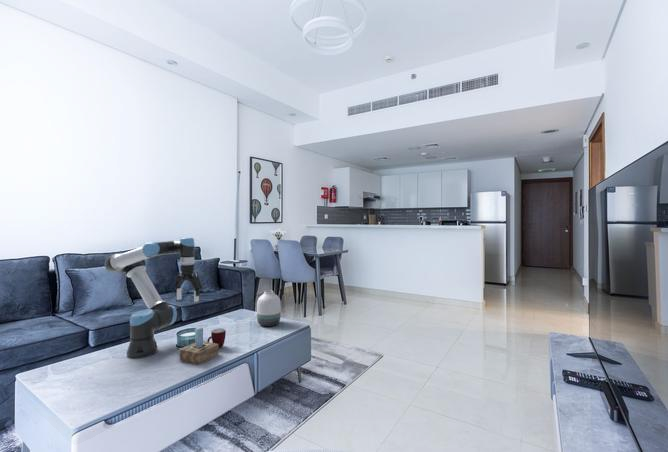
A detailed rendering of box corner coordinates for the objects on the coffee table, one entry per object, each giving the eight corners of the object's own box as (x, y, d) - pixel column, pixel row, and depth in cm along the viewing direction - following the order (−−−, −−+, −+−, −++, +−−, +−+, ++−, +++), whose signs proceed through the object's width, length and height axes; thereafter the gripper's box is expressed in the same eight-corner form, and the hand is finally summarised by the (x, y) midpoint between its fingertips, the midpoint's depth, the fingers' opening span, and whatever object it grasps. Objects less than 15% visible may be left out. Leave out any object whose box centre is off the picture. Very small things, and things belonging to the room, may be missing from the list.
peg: (193, 358, 176) (193, 329, 176) (199, 355, 180) (199, 327, 180) (199, 359, 175) (199, 330, 175) (204, 356, 179) (204, 327, 178)
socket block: (179, 360, 174) (179, 348, 174) (199, 350, 187) (199, 340, 187) (199, 364, 168) (199, 353, 168) (218, 354, 181) (218, 343, 181)
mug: (211, 352, 184) (211, 335, 184) (204, 348, 189) (204, 332, 189) (228, 347, 192) (228, 330, 192) (221, 343, 197) (221, 327, 197)
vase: (256, 321, 240) (256, 289, 240) (279, 319, 245) (278, 288, 245) (257, 329, 224) (257, 294, 224) (282, 326, 229) (282, 293, 229)
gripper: (166, 263, 190) (167, 299, 190) (198, 266, 180) (198, 304, 180) (177, 262, 197) (177, 297, 197) (208, 264, 187) (208, 300, 187)
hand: (187, 300), depth 189 cm, fingers open, 13 cm apart
